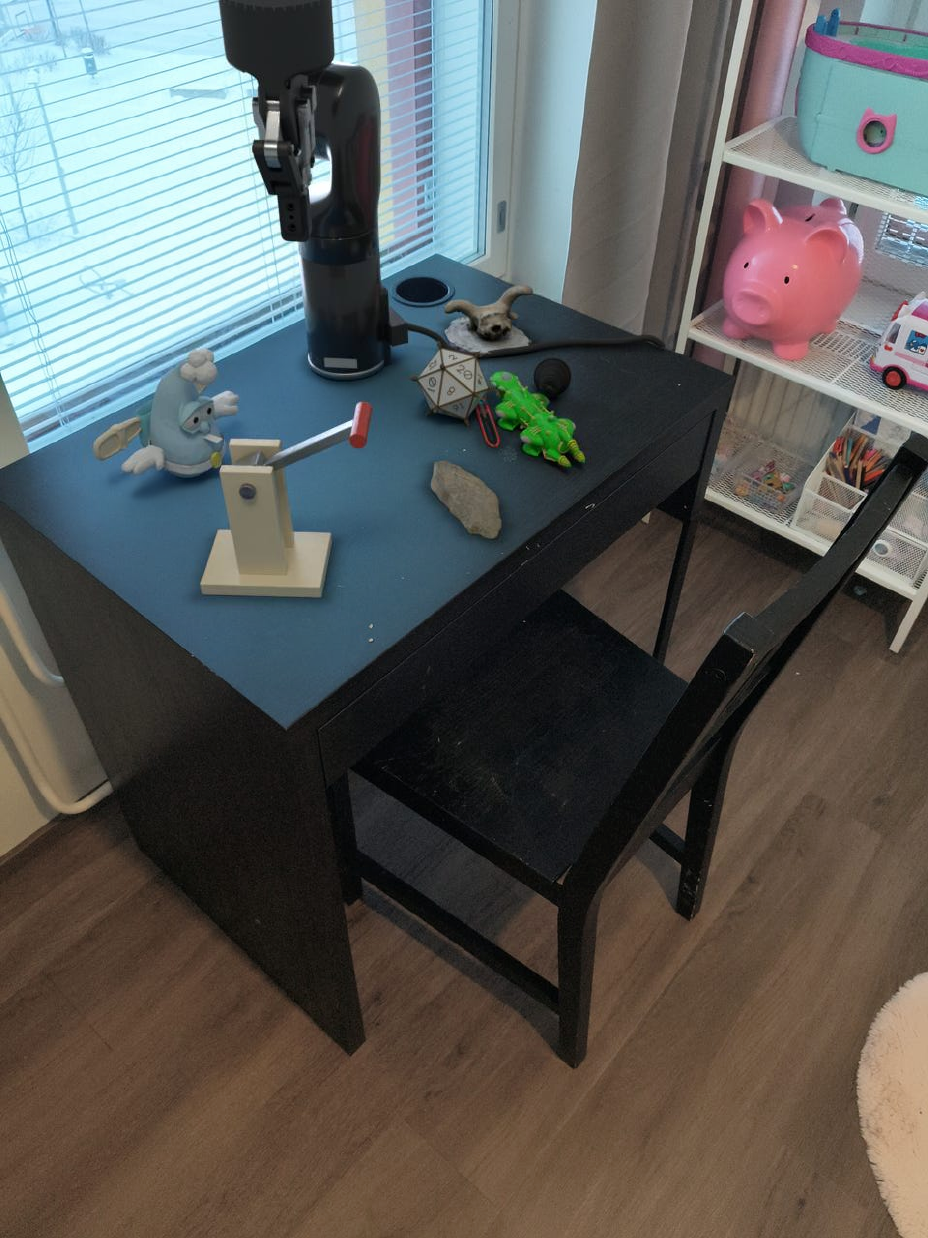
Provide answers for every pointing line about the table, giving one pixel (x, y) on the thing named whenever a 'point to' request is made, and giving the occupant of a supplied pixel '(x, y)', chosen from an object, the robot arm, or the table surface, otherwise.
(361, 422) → the lever
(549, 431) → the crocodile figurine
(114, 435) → the toy figure
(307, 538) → the lever stand
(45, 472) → the table surface
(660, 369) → the table surface
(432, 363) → the game die
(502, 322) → the skull
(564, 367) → the chess piece
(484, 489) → the stone
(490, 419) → the red paper clip
